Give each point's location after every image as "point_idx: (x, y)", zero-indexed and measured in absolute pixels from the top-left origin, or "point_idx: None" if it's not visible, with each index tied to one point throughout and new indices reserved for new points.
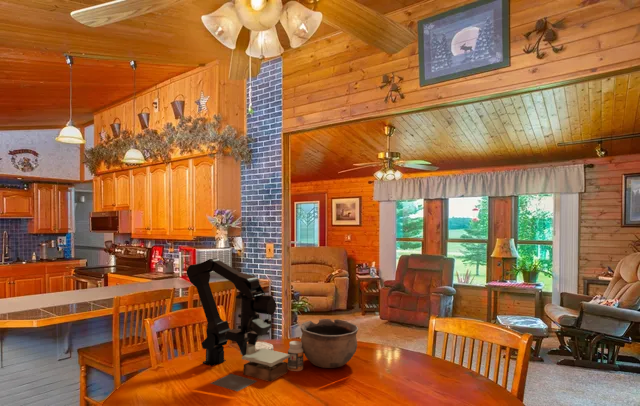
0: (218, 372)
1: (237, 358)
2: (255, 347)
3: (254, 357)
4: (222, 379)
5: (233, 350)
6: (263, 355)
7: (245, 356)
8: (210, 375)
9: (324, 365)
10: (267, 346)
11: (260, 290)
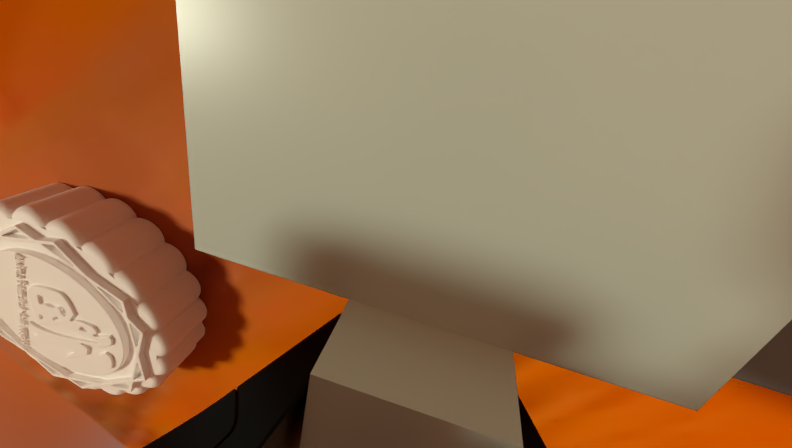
0: (540, 408)
1: (262, 368)
2: (101, 328)
3: (790, 186)
4: (759, 358)
5: (176, 413)
6: (596, 23)
7: (708, 363)
8: (610, 436)
9: None
10: (14, 250)
11: None
